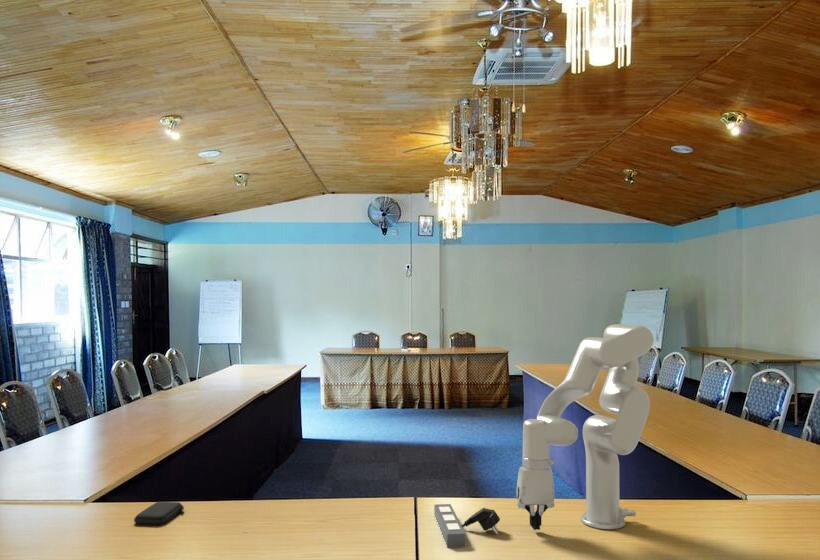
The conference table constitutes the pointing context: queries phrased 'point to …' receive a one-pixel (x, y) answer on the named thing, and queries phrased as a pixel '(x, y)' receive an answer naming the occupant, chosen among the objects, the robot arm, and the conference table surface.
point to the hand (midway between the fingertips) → (535, 528)
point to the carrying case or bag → (158, 513)
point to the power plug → (484, 519)
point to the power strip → (449, 525)
